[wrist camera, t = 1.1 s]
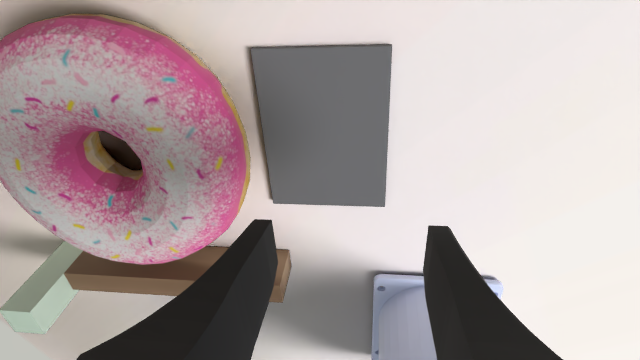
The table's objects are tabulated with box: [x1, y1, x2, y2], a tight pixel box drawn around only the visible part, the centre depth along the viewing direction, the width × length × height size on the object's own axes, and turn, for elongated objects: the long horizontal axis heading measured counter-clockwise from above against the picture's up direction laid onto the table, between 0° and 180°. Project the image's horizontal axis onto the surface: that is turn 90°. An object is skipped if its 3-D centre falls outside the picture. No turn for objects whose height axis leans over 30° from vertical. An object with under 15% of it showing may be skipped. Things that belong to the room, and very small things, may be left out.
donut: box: [0, 14, 250, 265], centre depth 21 cm, size 14×13×5 cm
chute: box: [0, 241, 291, 334], centre depth 20 cm, size 21×16×6 cm
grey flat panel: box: [251, 44, 392, 207], centre depth 21 cm, size 9×6×1 cm
